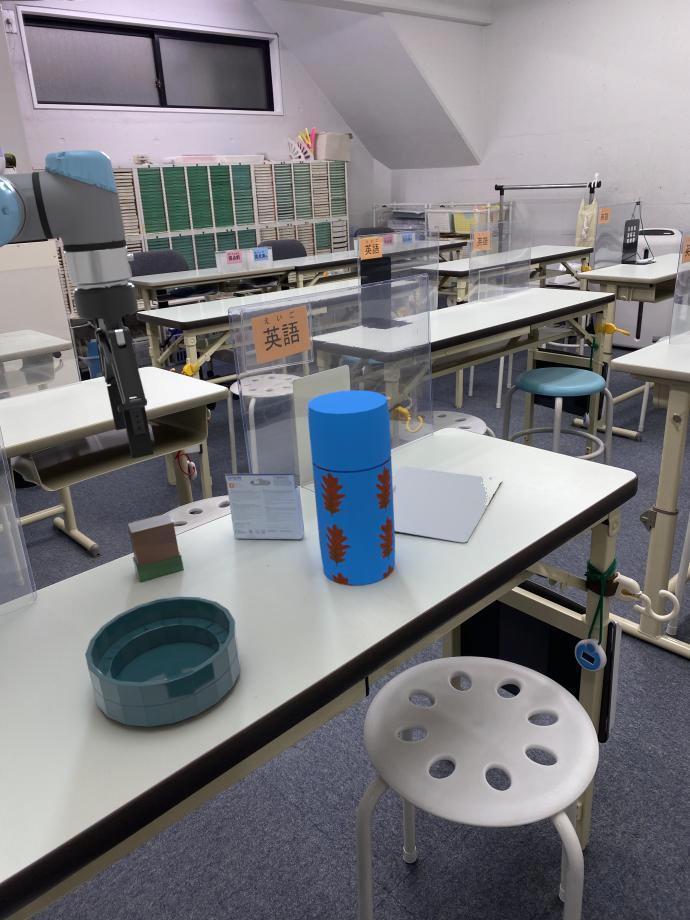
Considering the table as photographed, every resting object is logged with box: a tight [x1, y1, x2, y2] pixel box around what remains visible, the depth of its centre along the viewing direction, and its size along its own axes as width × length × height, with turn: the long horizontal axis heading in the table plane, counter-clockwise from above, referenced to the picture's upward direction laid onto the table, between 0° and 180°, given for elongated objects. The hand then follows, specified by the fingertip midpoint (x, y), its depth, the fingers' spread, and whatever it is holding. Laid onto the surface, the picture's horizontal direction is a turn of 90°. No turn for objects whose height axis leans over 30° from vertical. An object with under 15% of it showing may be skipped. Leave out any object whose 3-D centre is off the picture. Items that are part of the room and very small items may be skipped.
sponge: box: [127, 513, 184, 583], centre depth 101 cm, size 4×6×8 cm, turn 116°
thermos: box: [307, 389, 396, 586], centre depth 95 cm, size 11×11×25 cm
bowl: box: [85, 596, 241, 728], centre depth 78 cm, size 16×16×6 cm
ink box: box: [224, 472, 306, 540], centre depth 108 cm, size 12×2×12 cm, turn 80°
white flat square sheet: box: [392, 466, 490, 544], centre depth 119 cm, size 25×24×1 cm
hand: (133, 441), depth 95 cm, fingers open, 13 cm apart
